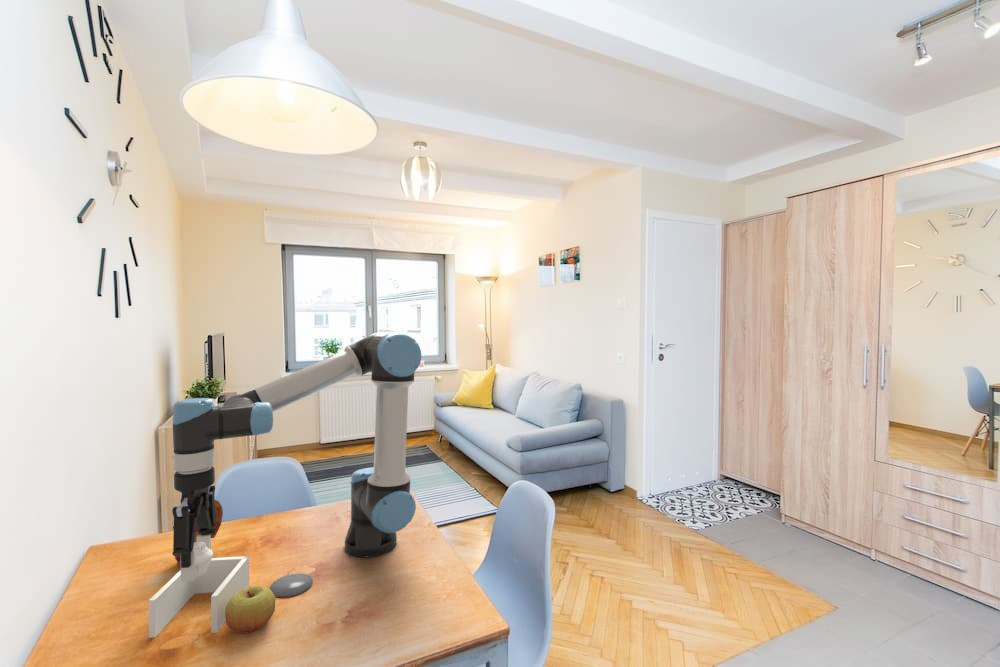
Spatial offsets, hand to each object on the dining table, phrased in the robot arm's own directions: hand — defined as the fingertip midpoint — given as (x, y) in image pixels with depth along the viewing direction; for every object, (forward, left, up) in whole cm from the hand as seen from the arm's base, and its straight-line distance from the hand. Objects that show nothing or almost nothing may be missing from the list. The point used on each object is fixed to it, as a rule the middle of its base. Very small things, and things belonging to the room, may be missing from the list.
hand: (196, 571), depth 102 cm
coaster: (-17, -12, -11) cm, 23 cm away
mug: (+13, -30, -11) cm, 35 cm away
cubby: (0, -4, -11) cm, 12 cm away
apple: (-13, +3, -11) cm, 17 cm away
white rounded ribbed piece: (0, 0, -1) cm, 1 cm away
